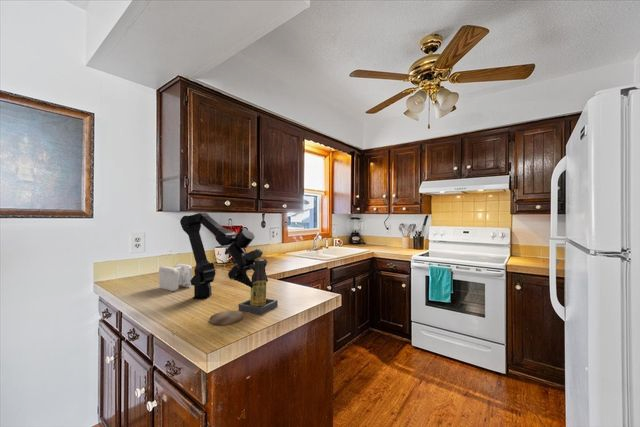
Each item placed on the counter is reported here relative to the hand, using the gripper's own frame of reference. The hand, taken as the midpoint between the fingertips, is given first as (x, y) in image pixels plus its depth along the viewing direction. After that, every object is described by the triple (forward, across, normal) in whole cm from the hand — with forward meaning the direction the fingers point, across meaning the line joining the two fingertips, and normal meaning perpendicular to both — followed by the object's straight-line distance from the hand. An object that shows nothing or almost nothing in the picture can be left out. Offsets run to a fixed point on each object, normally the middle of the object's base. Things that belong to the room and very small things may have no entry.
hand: (260, 284), depth 113 cm
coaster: (+4, -14, +10) cm, 18 cm away
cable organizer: (-34, +4, +49) cm, 60 cm away
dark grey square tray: (+6, 0, +8) cm, 10 cm away
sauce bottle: (+7, 0, +8) cm, 10 cm away
